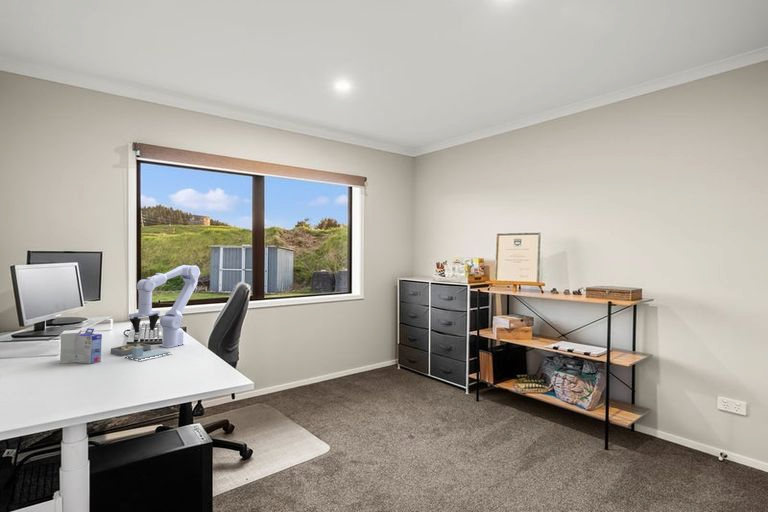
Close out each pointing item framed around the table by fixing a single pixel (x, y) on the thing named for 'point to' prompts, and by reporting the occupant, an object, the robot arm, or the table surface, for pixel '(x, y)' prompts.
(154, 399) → the table surface
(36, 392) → the table surface
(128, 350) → the tub
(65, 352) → the small box
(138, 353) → the lid
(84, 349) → the ink cartridge box
